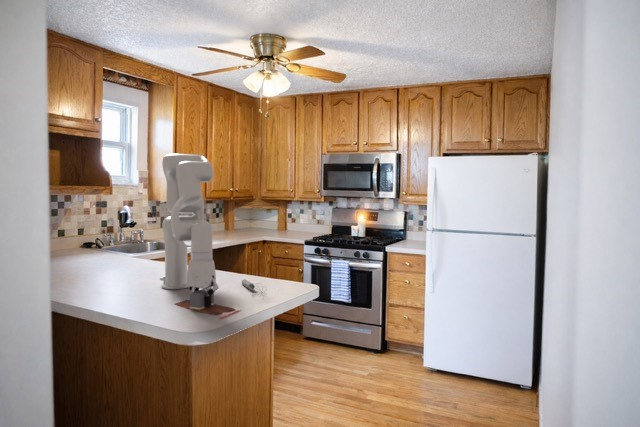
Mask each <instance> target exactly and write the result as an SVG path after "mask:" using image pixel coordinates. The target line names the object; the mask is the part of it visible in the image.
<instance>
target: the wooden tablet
mask: <svg viewBox="0 0 640 427" xmlns="http://www.w3.org/2000/svg"><path fill="white" fill-rule="evenodd" d="M173 305H174V306H177V307H179V308H184V309H188V310H193V311H196V312H200V313H203V314H208V315H211V316H222V315H223V314H225V313H226V314H228V313H231V312H234V311H236V308H234V307H230V306H225V305H220V304H218V303H217V304H216V303H214V305H211V306H208V307H206V308H203V309H200V310H198V309H192V308H190V299H183V300H181V301H178V302H176V303H173Z"/></svg>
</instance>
